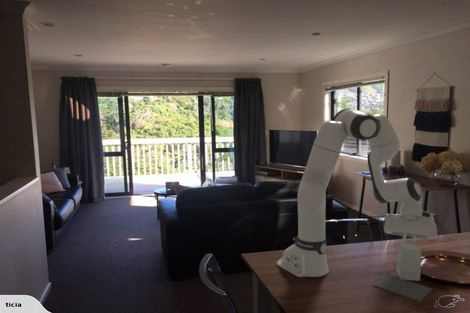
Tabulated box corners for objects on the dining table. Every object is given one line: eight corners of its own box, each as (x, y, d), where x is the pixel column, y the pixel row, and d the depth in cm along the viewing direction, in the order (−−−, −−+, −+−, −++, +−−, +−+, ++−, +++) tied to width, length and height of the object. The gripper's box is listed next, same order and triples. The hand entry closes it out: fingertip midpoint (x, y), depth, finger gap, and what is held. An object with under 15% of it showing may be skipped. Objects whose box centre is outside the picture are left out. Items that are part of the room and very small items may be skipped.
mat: (373, 285, 138) (373, 284, 138) (387, 275, 146) (387, 274, 146) (420, 302, 126) (420, 300, 126) (432, 289, 134) (432, 288, 134)
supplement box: (420, 281, 141) (422, 250, 139) (400, 279, 142) (401, 249, 141) (415, 272, 148) (416, 243, 146) (395, 271, 149) (396, 242, 148)
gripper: (384, 209, 160) (381, 237, 152) (437, 214, 150) (437, 245, 143) (385, 216, 164) (382, 244, 157) (436, 222, 155) (436, 252, 147)
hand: (409, 244), depth 150 cm, fingers closed
